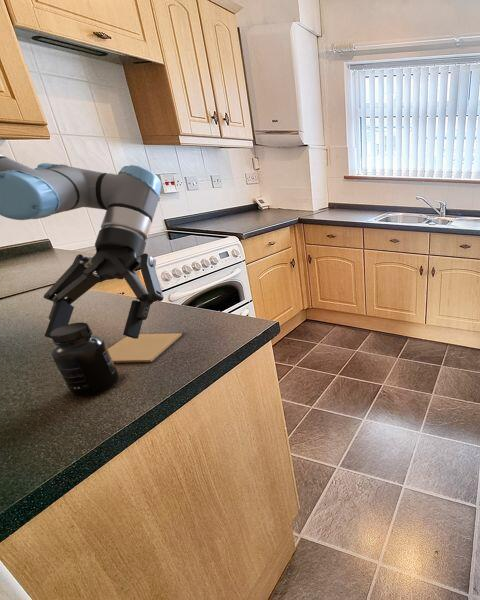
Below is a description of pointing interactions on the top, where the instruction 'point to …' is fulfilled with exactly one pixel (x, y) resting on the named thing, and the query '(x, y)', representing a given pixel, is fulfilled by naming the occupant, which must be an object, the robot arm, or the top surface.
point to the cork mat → (141, 347)
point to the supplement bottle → (83, 360)
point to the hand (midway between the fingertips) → (92, 337)
